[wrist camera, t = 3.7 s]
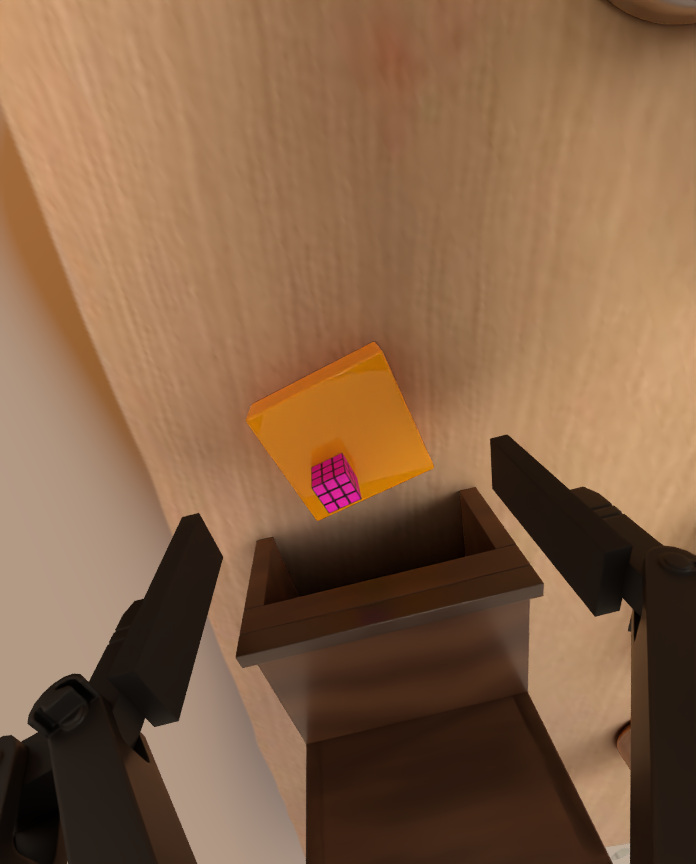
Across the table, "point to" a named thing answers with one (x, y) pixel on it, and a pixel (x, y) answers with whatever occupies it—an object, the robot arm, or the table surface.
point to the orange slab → (341, 433)
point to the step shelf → (419, 709)
